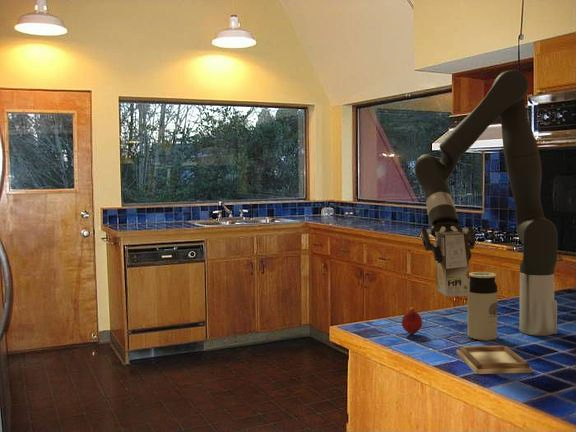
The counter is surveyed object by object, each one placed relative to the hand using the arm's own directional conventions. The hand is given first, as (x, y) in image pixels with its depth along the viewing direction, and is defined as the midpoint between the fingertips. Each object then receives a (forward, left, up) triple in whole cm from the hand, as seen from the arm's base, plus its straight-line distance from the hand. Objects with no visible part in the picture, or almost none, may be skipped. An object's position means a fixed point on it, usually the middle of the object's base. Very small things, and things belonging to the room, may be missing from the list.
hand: (453, 260), depth 158 cm
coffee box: (0, -2, -9) cm, 9 cm away
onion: (+8, -17, -24) cm, 30 cm away
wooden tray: (-6, +10, -24) cm, 27 cm away
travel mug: (-11, -13, -24) cm, 30 cm away
